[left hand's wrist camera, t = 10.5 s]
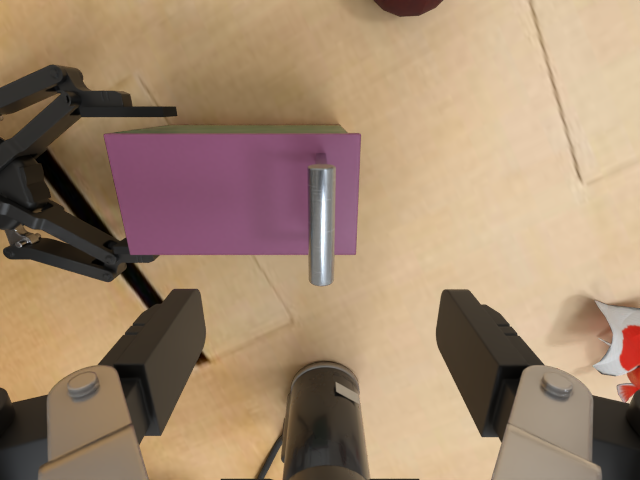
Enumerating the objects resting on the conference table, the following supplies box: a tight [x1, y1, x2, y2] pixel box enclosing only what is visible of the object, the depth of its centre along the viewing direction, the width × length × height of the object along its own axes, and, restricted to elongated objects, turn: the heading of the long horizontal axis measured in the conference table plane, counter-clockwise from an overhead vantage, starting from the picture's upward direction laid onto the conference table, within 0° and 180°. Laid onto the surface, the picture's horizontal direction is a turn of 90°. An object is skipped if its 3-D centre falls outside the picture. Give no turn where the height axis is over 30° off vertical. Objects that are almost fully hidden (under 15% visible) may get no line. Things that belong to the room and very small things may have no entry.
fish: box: [593, 300, 640, 403], centre depth 41 cm, size 11×16×10 cm
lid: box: [104, 133, 361, 286], centre depth 22 cm, size 18×9×8 cm, turn 90°
